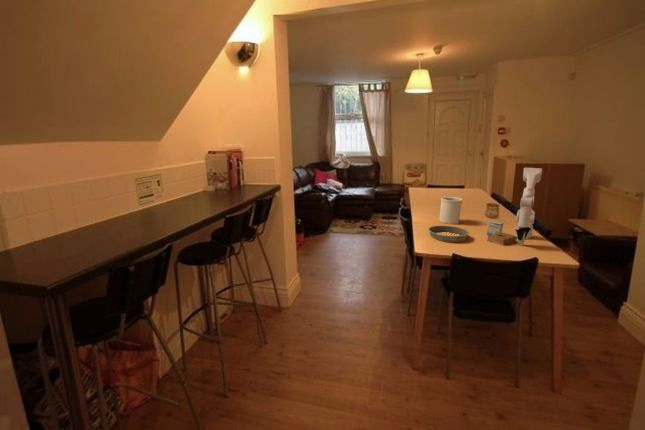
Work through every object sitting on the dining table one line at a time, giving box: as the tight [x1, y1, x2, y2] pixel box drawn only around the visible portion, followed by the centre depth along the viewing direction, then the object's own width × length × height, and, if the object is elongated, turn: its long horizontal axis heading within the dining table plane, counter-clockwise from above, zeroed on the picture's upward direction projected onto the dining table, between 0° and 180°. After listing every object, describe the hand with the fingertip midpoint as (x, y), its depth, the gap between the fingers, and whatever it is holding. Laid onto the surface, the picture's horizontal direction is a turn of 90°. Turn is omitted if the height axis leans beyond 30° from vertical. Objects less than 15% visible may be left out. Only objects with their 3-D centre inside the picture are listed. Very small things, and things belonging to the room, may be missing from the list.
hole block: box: [487, 231, 518, 246], centre depth 215 cm, size 14×10×4 cm
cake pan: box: [427, 225, 470, 243], centre depth 222 cm, size 25×25×4 cm
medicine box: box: [486, 220, 504, 236], centre depth 226 cm, size 8×4×9 cm, turn 45°
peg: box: [517, 231, 526, 247], centre depth 207 cm, size 3×3×9 cm
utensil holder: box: [439, 196, 464, 225], centre depth 257 cm, size 15×15×18 cm
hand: (521, 239), depth 208 cm, fingers closed on peg, 3 cm apart
